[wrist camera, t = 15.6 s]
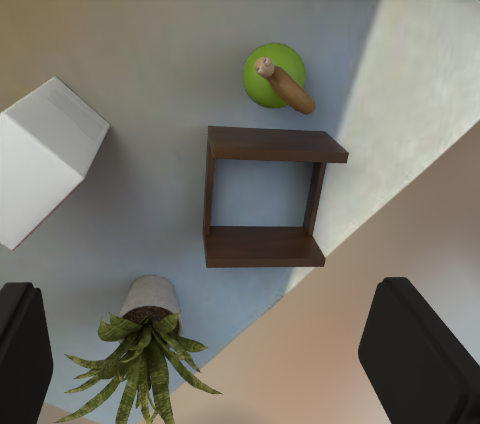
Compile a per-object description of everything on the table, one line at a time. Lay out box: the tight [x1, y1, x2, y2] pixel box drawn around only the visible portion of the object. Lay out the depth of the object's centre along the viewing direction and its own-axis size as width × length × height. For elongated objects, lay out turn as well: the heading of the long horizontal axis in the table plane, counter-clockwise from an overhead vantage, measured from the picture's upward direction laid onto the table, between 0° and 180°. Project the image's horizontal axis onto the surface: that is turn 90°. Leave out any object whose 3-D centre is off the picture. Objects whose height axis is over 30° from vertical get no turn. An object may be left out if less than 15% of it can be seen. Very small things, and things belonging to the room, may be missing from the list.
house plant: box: [56, 275, 221, 424], centre depth 40 cm, size 14×14×16 cm
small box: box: [0, 76, 110, 250], centre depth 32 cm, size 8×6×13 cm
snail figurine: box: [243, 43, 315, 115], centre depth 32 cm, size 5×6×12 cm
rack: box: [203, 126, 349, 268], centre depth 40 cm, size 12×12×6 cm
